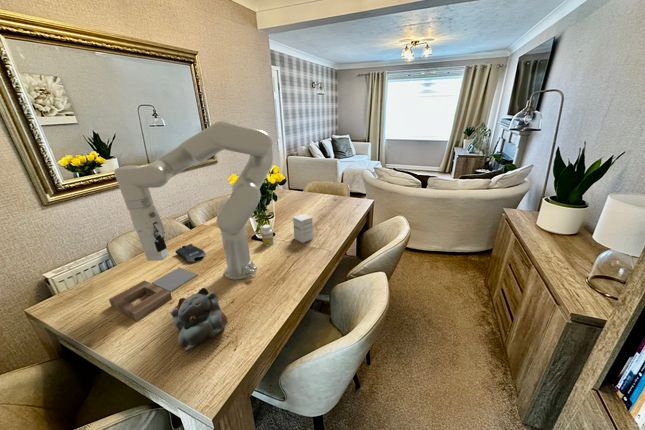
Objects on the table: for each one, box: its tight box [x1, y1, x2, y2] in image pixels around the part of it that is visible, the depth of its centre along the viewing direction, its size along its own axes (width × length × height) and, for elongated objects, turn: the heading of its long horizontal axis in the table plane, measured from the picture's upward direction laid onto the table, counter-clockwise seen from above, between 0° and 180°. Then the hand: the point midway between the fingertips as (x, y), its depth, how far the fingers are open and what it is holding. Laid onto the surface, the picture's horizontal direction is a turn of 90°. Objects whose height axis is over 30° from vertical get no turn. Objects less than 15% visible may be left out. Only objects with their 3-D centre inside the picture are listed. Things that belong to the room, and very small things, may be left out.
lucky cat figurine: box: [170, 287, 228, 352], centre depth 76 cm, size 15×12×14 cm
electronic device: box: [175, 243, 207, 264], centre depth 120 cm, size 9×6×15 cm
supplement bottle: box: [261, 224, 274, 247], centre depth 128 cm, size 5×5×10 cm
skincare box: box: [136, 231, 170, 262], centre depth 92 cm, size 6×4×12 cm
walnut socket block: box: [108, 279, 173, 322], centre depth 90 cm, size 16×12×3 cm
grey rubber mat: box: [151, 267, 199, 293], centre depth 103 cm, size 12×12×1 cm
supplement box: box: [292, 213, 314, 244], centre depth 132 cm, size 7×7×13 cm
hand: (155, 247), depth 93 cm, fingers closed on skincare box, 7 cm apart
